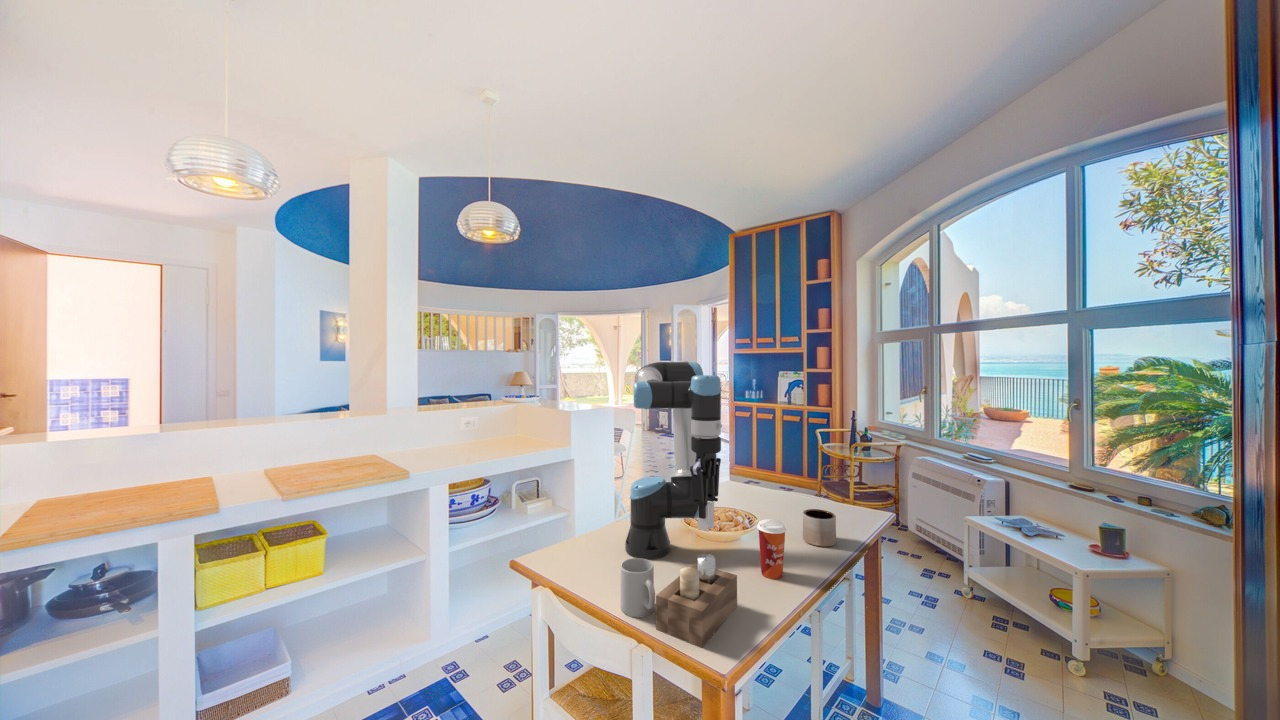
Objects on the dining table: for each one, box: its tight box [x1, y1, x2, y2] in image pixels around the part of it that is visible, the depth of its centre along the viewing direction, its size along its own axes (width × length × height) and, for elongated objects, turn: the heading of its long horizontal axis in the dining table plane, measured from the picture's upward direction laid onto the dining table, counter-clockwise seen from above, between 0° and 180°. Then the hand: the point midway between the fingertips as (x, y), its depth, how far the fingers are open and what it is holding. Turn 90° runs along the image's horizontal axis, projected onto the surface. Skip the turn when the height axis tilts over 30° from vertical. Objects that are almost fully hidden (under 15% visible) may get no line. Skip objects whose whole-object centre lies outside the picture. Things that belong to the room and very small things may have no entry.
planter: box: [802, 508, 837, 548], centre depth 155 cm, size 11×11×10 cm
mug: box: [620, 557, 656, 618], centre depth 112 cm, size 12×8×11 cm
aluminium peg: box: [696, 553, 716, 585], centre depth 113 cm, size 4×4×8 cm
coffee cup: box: [756, 518, 787, 580], centre depth 131 cm, size 8×8×15 cm
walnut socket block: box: [655, 562, 738, 649], centre depth 109 cm, size 12×20×8 cm, turn 146°
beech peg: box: [679, 566, 699, 601], centre depth 105 cm, size 4×4×8 cm
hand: (706, 528), depth 113 cm, fingers open, 2 cm apart
